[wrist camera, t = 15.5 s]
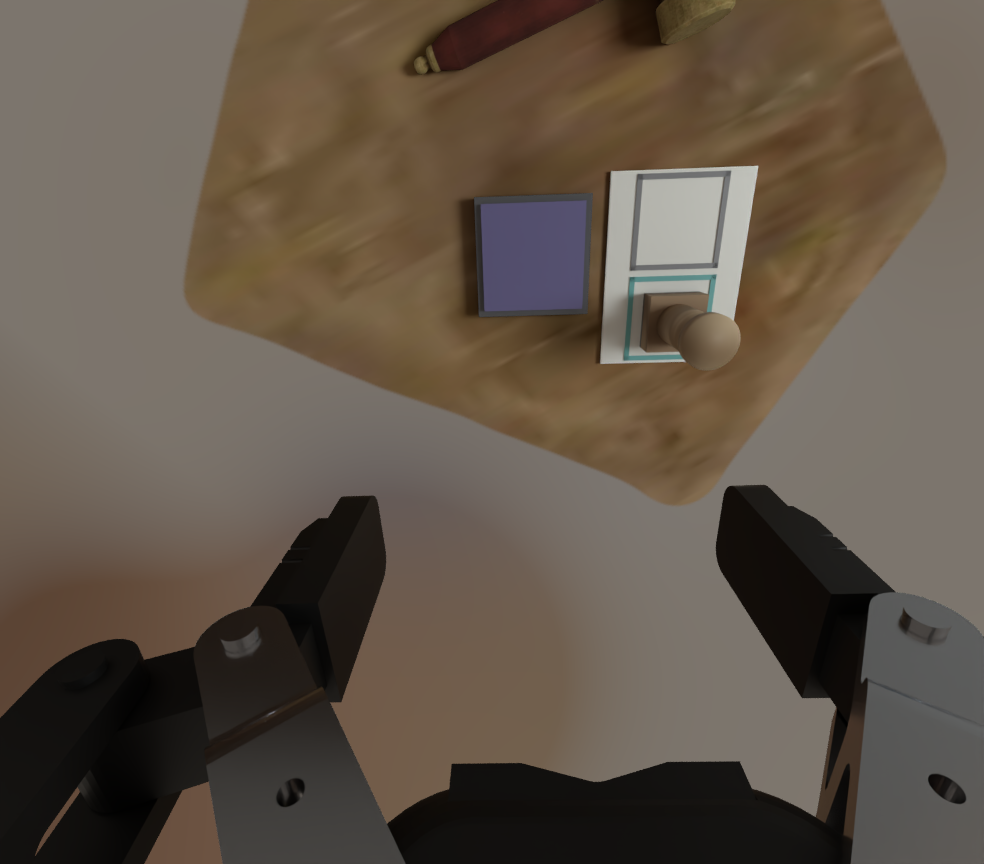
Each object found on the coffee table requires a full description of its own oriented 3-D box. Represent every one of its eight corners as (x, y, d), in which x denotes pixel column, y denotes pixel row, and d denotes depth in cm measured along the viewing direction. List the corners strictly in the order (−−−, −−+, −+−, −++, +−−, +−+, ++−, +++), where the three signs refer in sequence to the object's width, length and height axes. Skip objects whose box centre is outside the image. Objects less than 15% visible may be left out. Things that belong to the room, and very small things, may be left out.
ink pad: (474, 198, 38) (473, 197, 36) (590, 194, 38) (593, 192, 36) (479, 314, 41) (478, 317, 40) (585, 311, 41) (588, 314, 40)
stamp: (643, 293, 40) (681, 310, 32) (698, 291, 40) (751, 307, 31) (639, 346, 42) (673, 376, 33) (691, 345, 42) (739, 374, 33)
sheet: (610, 171, 37) (611, 171, 37) (756, 166, 37) (759, 165, 36) (599, 362, 43) (600, 364, 42) (725, 359, 42) (727, 361, 42)
